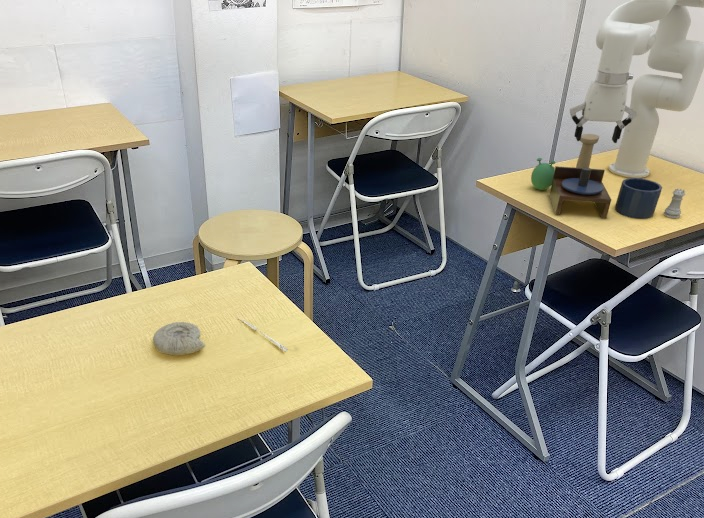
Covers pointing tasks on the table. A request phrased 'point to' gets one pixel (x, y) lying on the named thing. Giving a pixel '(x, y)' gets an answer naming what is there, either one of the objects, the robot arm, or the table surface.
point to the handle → (586, 149)
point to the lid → (582, 183)
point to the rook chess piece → (675, 205)
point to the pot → (638, 198)
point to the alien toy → (543, 175)
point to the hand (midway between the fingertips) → (595, 140)
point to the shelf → (561, 193)
